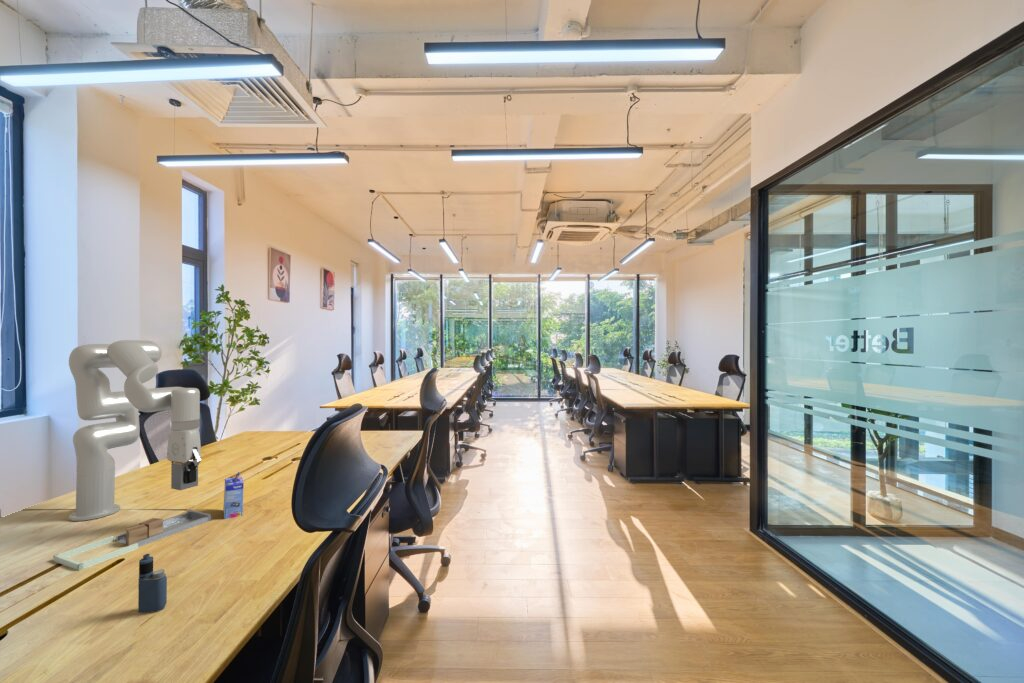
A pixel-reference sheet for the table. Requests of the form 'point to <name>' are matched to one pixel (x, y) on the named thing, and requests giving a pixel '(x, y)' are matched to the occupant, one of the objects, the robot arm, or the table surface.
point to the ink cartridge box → (233, 497)
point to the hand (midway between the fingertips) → (184, 481)
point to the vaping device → (151, 587)
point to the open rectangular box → (173, 526)
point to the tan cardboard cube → (153, 526)
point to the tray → (77, 565)
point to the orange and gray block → (181, 476)
